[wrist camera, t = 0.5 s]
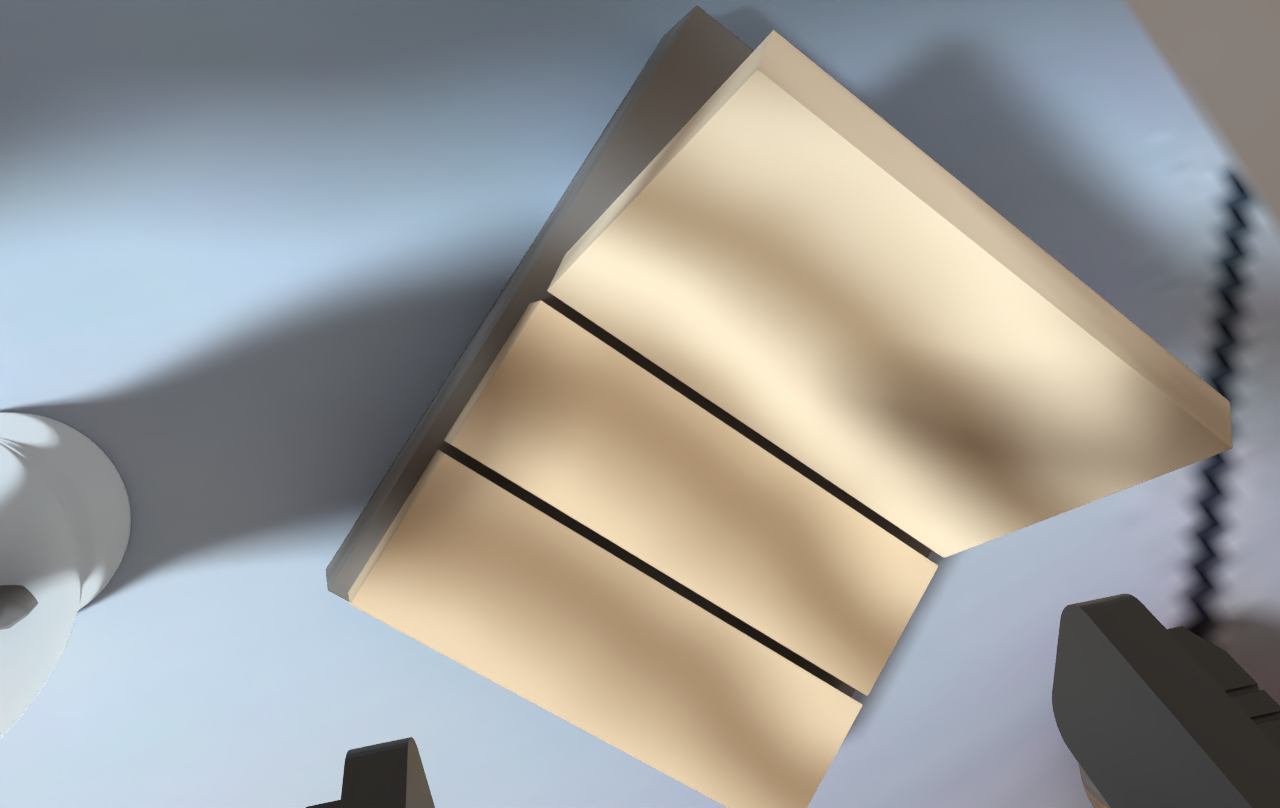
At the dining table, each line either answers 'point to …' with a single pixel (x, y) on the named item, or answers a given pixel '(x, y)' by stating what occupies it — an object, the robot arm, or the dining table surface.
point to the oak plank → (880, 316)
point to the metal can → (50, 546)
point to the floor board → (634, 521)
